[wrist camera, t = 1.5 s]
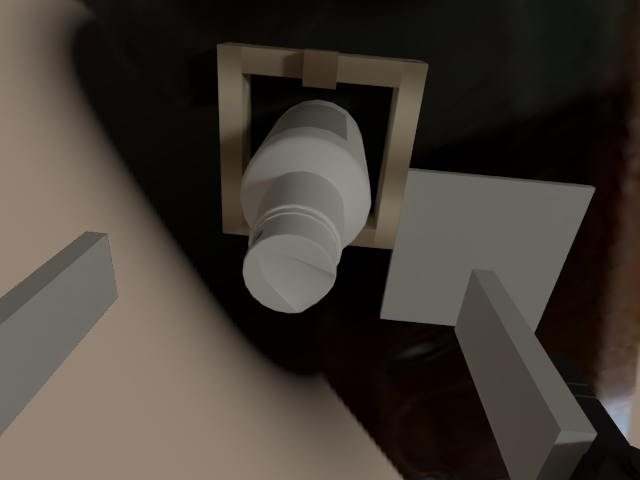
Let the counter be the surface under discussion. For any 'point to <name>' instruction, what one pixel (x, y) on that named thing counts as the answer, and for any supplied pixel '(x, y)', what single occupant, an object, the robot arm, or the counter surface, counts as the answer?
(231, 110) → the wooden square frame
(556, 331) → the counter surface
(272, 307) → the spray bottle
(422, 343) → the counter surface
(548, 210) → the mat
